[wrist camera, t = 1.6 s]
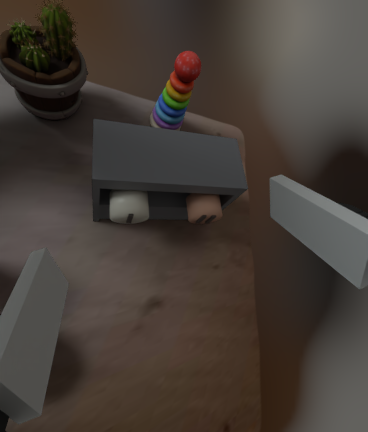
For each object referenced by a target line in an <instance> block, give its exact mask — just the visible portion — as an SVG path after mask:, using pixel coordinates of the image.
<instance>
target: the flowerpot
mask: <svg viewBox="0 0 368 432" xmlns="http://www.w3.org/2000/svg"><path fill="white" fill-rule="evenodd" d="M47 1H49V0H47ZM53 1H54V2H53ZM53 1H52V2H51V1H49V2H47V5H46V4H45V5H44V6H45V7H44V8H43V7H41V8H42V15H41V18H40V16H39V17H38V20H40V22H42V25H43V26H26V25H25V23H24V22H23V23H19V24H18V23H16V22H15V21H14V22H15V25H14V26H13V25H11V28H10V29H9V30H6V31H4V32H3V33H2V34H1V35H0V73H1V75H2V76H3V78H4V79H5V80H6V81H7V82H8V83H9V84H10V85H11V86H13V87H14V89H15V93H16V96H17V98H18V99H19V101H20V102H21V104H22V105H23V106H24V107H25V108H26V109H27V110H28V112H31V113H32V114H34V115H36V116H39V117H41V118H43V119H50V120H60V119H66V118H68V117H69V116H71V115H72V114H73V113H75V112H76V110H77V109H78V108H79V106H80V103H81V102H82V99H81V91H80V88H81V87H82V86H83V85H84V83H85V81H86V75H88V71H87V68H86V64H85V60H84V58H83V55H82V54H81V52H80V51H79V50H78V48H77V47H76V46H75V44H74V43H73V42H72V39H73V38H72V37H73V36H75V35H76V33H75V31H74V32H73V30H72V25H73V24H74V23H73V21H71V19H70V17H69V16H68V15H67V14H68V13H69V12H68V11H67V9H66V10H64V9H63V8H64V7H62V5H60V3H59V2H60V1H58V2H56V4H55V0H53ZM61 1H63V0H61ZM50 2H51V3H52V4H51V3H50ZM58 3H59V4H58ZM48 4H49V5H48ZM59 5H60V6H59ZM73 20H74V19H73ZM75 37H76V36H75Z"/></svg>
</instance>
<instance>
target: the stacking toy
mask: <svg viewBox="0 0 368 432" xmlns="http://www.w3.org/2000/svg"><path fill="white" fill-rule="evenodd" d="M200 71H201V62H200V59H199V57H198V56H197V55H196V54H195V53H194V52H191V51H184V52H182V53H181V54H179V55H178V57H177V58H176V61H175V71H174V72H172V74H171V75H170V80H168V82H167V84H166V87H165V88H164V90H163V93H162V94H161V95H160V97H159V100H158V101H157V103H156V105H155V107H154V109H153V112H152V113H151V115H150V124H151V126H152V127H156V128H163V129H170V130H177V131H180V129H181V125H182V123H183V118H184V116H185V111H186V109H187V105H188V103H189V98H190V96H191V90H192V89H193V86H194V80H195V79H196V78H197V77H198V76H199V74H200Z"/></svg>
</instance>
